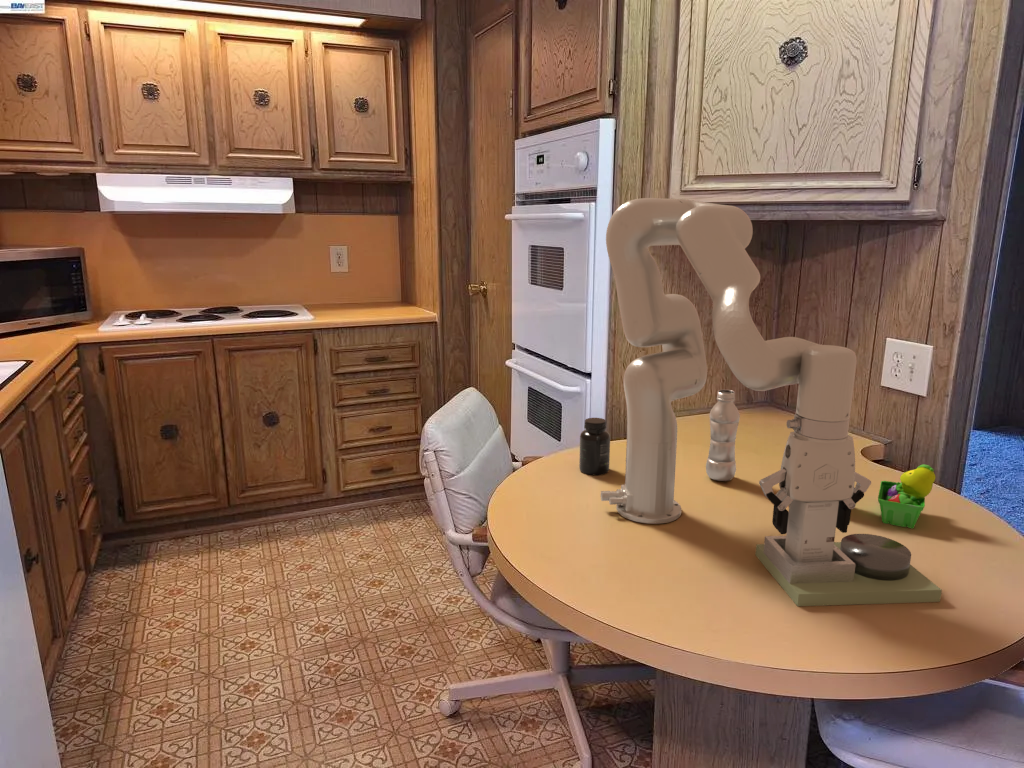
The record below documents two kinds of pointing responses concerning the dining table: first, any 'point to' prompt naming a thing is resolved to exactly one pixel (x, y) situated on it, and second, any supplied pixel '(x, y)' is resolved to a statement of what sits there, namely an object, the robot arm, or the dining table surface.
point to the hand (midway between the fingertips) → (809, 529)
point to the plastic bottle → (723, 437)
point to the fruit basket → (905, 496)
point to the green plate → (850, 573)
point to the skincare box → (811, 531)
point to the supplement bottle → (594, 447)
